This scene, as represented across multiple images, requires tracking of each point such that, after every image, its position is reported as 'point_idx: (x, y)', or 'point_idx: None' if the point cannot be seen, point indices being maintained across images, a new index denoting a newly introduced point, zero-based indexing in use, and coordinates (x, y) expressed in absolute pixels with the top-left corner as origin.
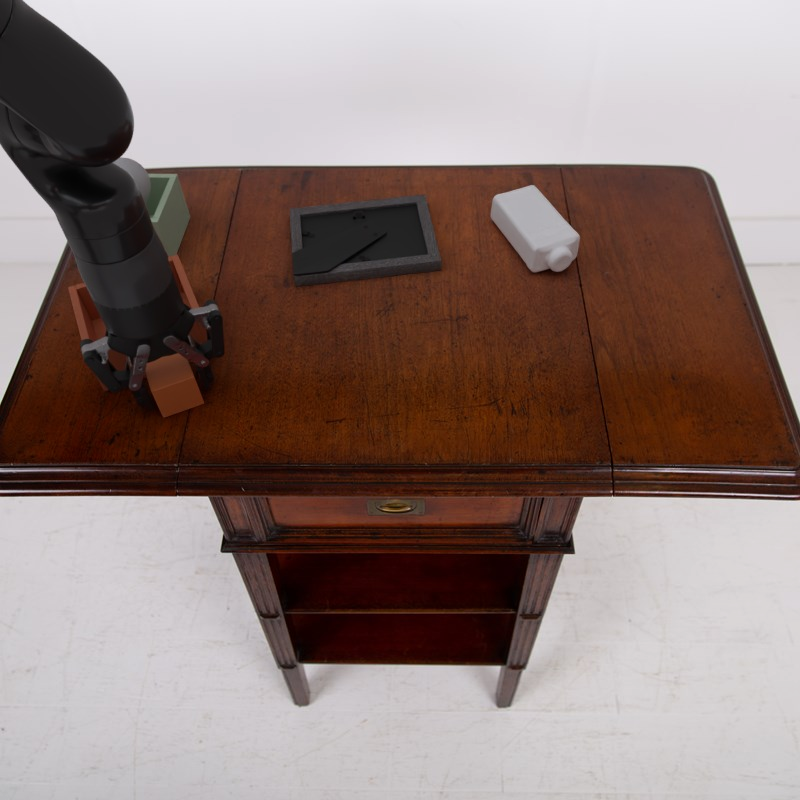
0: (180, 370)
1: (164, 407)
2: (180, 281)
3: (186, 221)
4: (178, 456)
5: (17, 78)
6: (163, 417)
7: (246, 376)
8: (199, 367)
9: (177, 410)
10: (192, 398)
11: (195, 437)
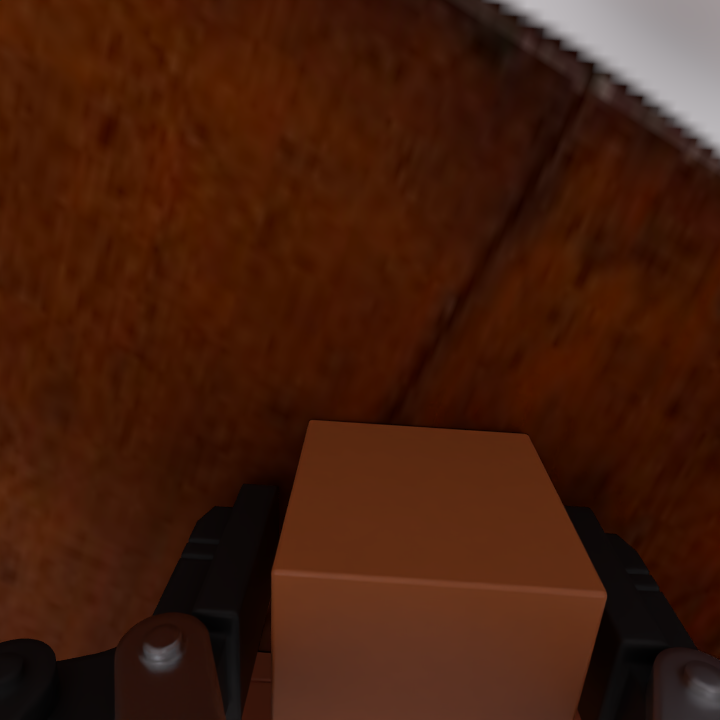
0: (346, 660)
1: (519, 471)
2: None
3: None
4: (564, 145)
5: None
6: (527, 435)
7: (67, 474)
8: (218, 624)
9: (450, 437)
10: (353, 457)
11: (427, 231)
